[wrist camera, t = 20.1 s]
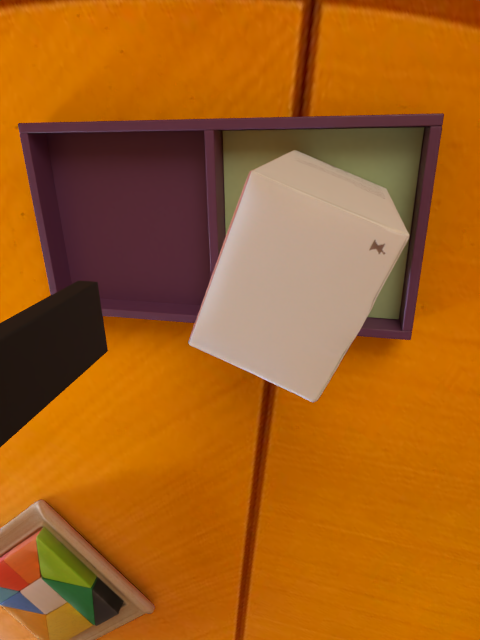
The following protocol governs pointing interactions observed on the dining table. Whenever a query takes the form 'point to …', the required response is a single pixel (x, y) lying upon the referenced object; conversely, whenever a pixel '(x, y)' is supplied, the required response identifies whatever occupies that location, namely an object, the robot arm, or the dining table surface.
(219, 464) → the dining table surface
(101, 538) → the dining table surface
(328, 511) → the dining table surface
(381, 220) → the small box
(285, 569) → the dining table surface
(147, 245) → the purple divided tray
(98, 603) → the wooden puzzle
